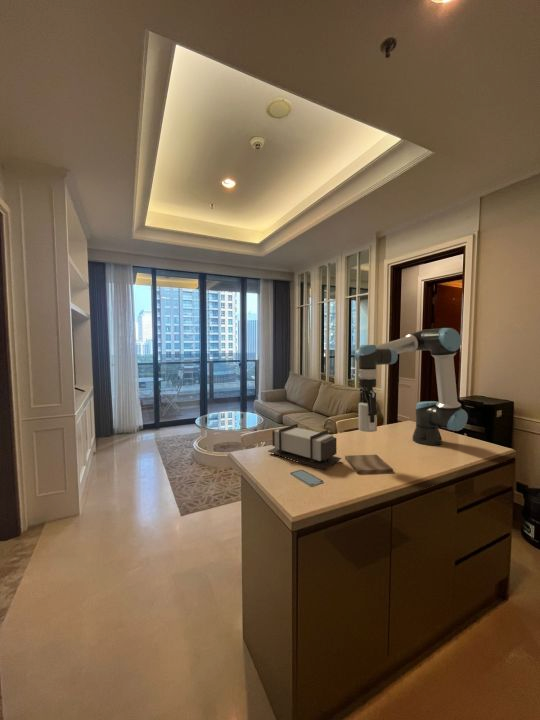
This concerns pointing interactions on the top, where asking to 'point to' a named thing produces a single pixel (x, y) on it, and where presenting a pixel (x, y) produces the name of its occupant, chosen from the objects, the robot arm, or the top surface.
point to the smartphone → (306, 478)
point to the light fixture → (305, 446)
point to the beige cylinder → (365, 418)
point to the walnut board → (368, 464)
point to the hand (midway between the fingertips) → (367, 426)
